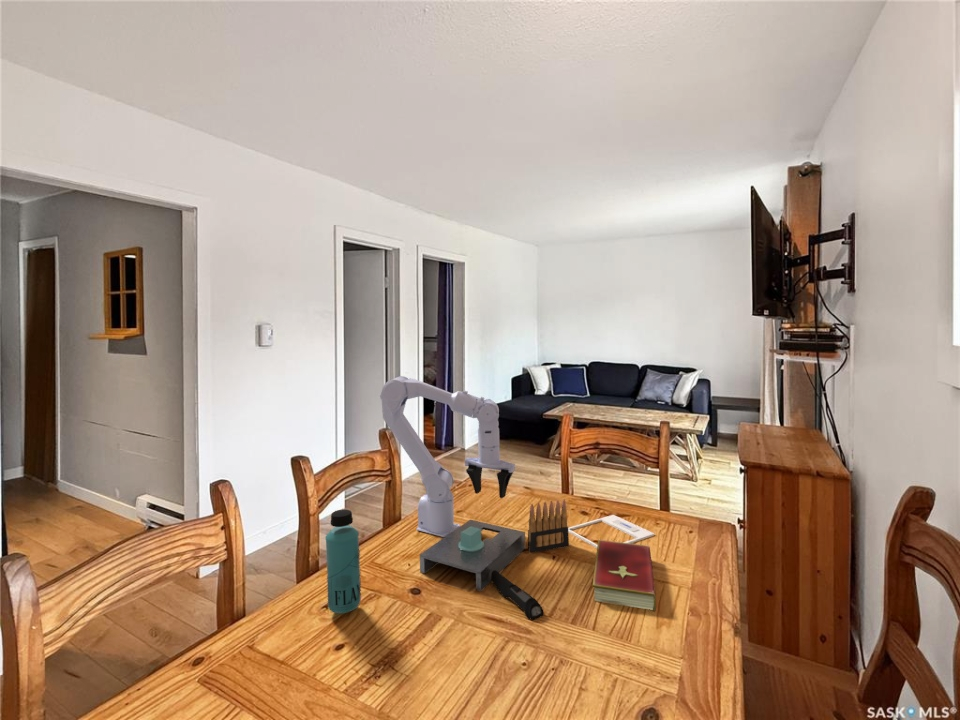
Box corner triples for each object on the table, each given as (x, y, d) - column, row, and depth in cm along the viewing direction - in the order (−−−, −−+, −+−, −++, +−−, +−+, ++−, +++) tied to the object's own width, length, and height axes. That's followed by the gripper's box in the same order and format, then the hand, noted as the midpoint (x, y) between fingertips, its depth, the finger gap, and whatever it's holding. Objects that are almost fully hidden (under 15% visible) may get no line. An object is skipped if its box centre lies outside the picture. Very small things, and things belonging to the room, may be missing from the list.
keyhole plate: (420, 572, 107) (419, 554, 107) (470, 534, 126) (470, 519, 126) (481, 591, 99) (480, 572, 99) (525, 548, 118) (524, 532, 118)
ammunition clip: (565, 543, 121) (565, 497, 120) (569, 546, 119) (569, 499, 118) (527, 549, 117) (526, 502, 116) (530, 553, 116) (530, 505, 115)
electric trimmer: (501, 580, 104) (501, 566, 104) (545, 616, 91) (545, 600, 91) (487, 585, 102) (486, 571, 102) (529, 622, 89) (529, 606, 89)
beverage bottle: (330, 625, 88) (327, 521, 87) (324, 607, 94) (321, 509, 93) (365, 615, 91) (362, 514, 90) (357, 598, 97) (354, 503, 96)
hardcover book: (650, 562, 111) (650, 544, 111) (655, 614, 91) (656, 593, 91) (598, 555, 115) (598, 538, 115) (592, 604, 95) (592, 583, 95)
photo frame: (654, 532, 124) (604, 549, 115) (654, 536, 124) (604, 554, 116) (613, 514, 137) (565, 527, 128) (613, 517, 137) (565, 531, 128)
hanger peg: (453, 560, 110) (452, 532, 110) (468, 550, 115) (468, 523, 115) (474, 567, 107) (473, 538, 106) (489, 557, 112) (488, 529, 111)
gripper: (519, 444, 127) (520, 494, 128) (473, 439, 134) (474, 486, 135) (507, 451, 121) (509, 502, 122) (460, 445, 128) (461, 494, 129)
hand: (490, 494), depth 128 cm, fingers open, 7 cm apart
